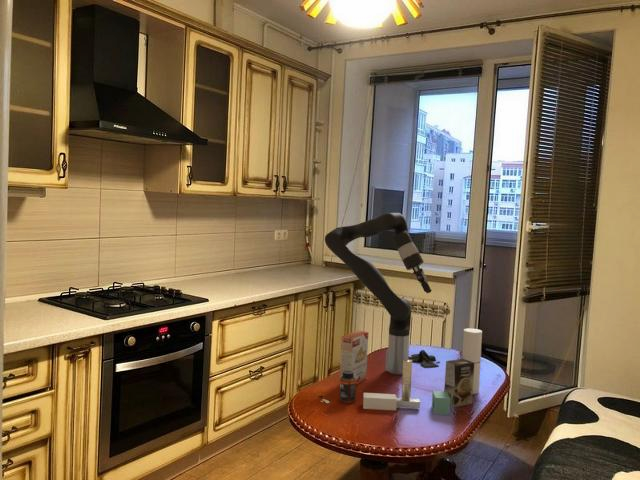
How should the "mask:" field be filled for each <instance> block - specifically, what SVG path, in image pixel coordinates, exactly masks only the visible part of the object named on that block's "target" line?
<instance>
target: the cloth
mask: <svg viewBox="0 0 640 480" xmlns="http://www.w3.org/2000/svg"><path fill="white" fill-rule="evenodd" d="M411 356H412V357H411ZM408 359H409V360H412V364H413V363H416V364H417V363H418V364H419V363H420V366H421V367H422V368H423V369H431V368H439V367H440V365H438V364H440V363H441V361H437V359H436V356H435V355H431V354H429V355H428V352H426V351H425V350H424V349H421V350H419V353H414V354H411V355H410V356H409V358H408Z"/></svg>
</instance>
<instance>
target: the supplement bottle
mask: <svg viewBox="0 0 640 480" xmlns="http://www.w3.org/2000/svg"><path fill="white" fill-rule="evenodd" d="M339 381H340V385H339V401H340V402H341V403H344V404H352V403H355V402H356V388H357V385H356V379H355V377H353V371H350V370H346V371H343V376H342V377H341V378H340V377H339Z"/></svg>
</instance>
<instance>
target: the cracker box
mask: <svg viewBox="0 0 640 480" xmlns="http://www.w3.org/2000/svg"><path fill="white" fill-rule="evenodd" d="M368 346H369V332H368V331H363V330H358V329H356V330H355V331H352V332H349V333H348V334H347V333H346V334H344V335H341V342H340V359H339V360H340V363H339V364H340V365H339V379H340V378H341V377H342V376H343V371H346V370H350V371H353V377H355V379H356V386H357V385H359V384H360V382H361V383H363V382H364V381H366V380H367V367H368V349H369V347H368ZM365 379H366V380H365ZM363 380H364V381H363ZM338 382H339V386H340V380H339V381H338Z"/></svg>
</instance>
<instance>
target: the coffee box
mask: <svg viewBox="0 0 640 480" xmlns="http://www.w3.org/2000/svg"><path fill="white" fill-rule="evenodd" d="M473 378H474V363H473V362H471V361H468V360H465V359H462V358H460V359H451V360H450V359H449V360H446V361H445V373H444V388H443V389H444V390H443V391H446V392H447V393H448V395H449V397H450V407H453V408H456V407H462V406H468V405H472V404H473V395H474V394H473Z"/></svg>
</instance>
